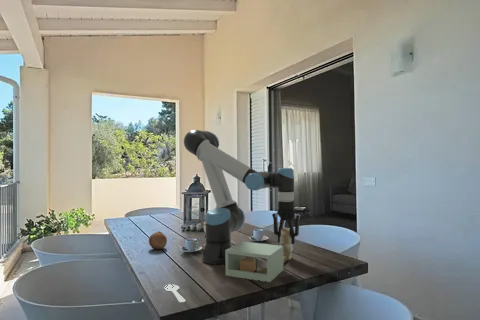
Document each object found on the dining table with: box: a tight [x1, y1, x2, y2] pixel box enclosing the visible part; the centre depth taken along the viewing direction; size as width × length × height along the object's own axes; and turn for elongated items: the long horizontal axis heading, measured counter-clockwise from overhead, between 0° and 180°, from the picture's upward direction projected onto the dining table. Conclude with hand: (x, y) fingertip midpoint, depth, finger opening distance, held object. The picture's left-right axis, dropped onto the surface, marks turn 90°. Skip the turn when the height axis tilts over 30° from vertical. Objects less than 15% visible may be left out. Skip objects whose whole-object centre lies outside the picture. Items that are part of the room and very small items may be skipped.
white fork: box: [163, 283, 186, 303], centre depth 120 cm, size 5×18×1 cm, turn 27°
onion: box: [148, 231, 168, 251], centre depth 180 cm, size 10×9×10 cm
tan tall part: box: [256, 227, 293, 274], centre depth 151 cm, size 7×27×14 cm, turn 155°
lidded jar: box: [202, 221, 206, 234], centre depth 213 cm, size 11×11×9 cm
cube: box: [239, 256, 257, 272], centre depth 143 cm, size 5×5×5 cm
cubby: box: [225, 241, 284, 283], centre depth 141 cm, size 19×16×10 cm
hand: (286, 250), depth 161 cm, fingers closed on tan tall part, 4 cm apart
